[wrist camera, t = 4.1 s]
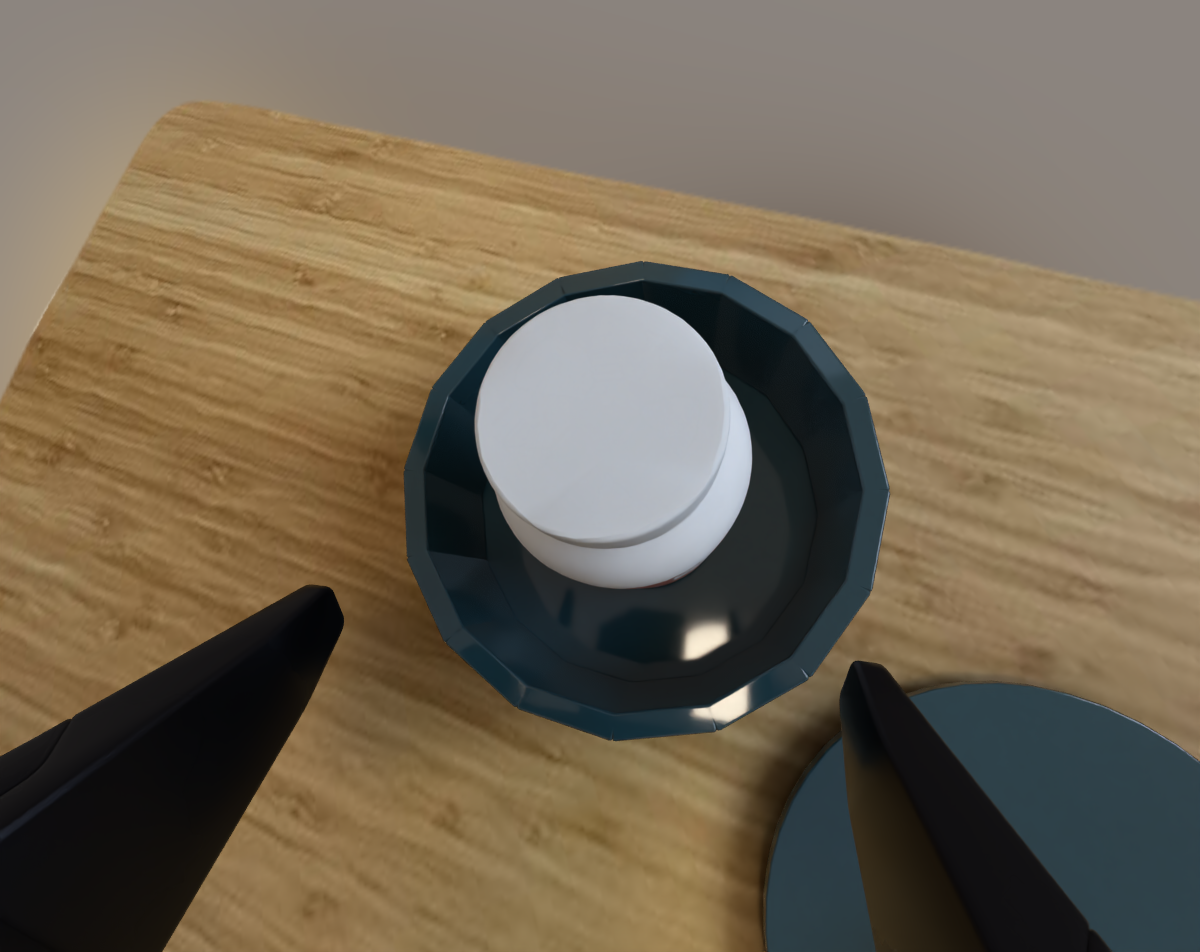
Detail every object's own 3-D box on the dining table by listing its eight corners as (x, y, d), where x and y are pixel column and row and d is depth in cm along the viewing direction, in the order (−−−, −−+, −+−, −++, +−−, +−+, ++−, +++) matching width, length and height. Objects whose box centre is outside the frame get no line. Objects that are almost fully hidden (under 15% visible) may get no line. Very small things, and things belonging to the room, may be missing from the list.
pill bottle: (529, 516, 21) (365, 437, 10) (631, 397, 21) (578, 198, 10) (652, 625, 19) (614, 670, 9) (759, 495, 20) (852, 381, 9)
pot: (572, 772, 19) (532, 839, 14) (416, 450, 22) (338, 408, 17) (914, 575, 19) (1002, 569, 13) (701, 279, 22) (707, 186, 17)
